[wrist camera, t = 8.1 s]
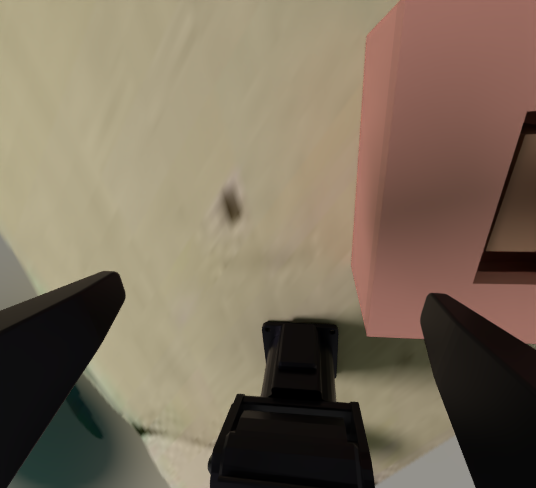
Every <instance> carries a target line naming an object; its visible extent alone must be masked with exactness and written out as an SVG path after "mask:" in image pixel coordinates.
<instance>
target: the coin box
mask: <svg viewBox="0 0 536 488" xmlns="http://www.w3.org/2000/svg"><path fill="white" fill-rule="evenodd" d="M523 123H529V124H536V0H400V1H399V2H398V3H397V4H396V5H395V6H394V7H393V8H392V9H391V11H390V12H389V13H388V14H387V15H386V16H385V17H384V18H383V19H382V20H381V21H380V22H379V23H378V24H377V25H376V26H375V27H374V28H373V29H372V31H371V32H370V33H369V34H368V35H367V37H366V52H365V66H364V81H363V96H362V111H361V126H360V141H359V156H358V171H357V186H356V200H355V215H354V230H353V245H352V260H351V267H352V272H353V276H354V281H355V285H356V289H357V294H358V298H359V303H360V307H361V312H362V316H363V320H364V325H365V329H366V334H367V336H368V337H391V338H413V339H424V337H423V333H422V329H421V324H420V316H421V313H422V309H423V306H424V303H425V300H426V297H427V295H428V294H429V293H444V294H447V295H449V296H451V297H452V298H454V299H455V300H457V301H459V302H460V303H462V304H463V305H465V306H467V307H468V308H470V309H471V310H473V311H475V312H476V313H478V314H479V315H481V316H483V317H484V318H486V319H487V320H489V321H491V322H492V323H494V324H495V325H497V326H498V327H500V328H502V329H503V330H505V331H506V332H508V333H510V334H511V335H513V336H514V337H516V338H518V339H519V340H521V341H522V342H524V343H527V344H536V251H535V252H512V251H485V250H484V246H485V243H486V240H487V237H488V234H489V230H490V227H491V224H492V221H493V218H494V215H495V211H496V208H497V205H498V202H499V199H500V196H501V192H502V189H503V186H504V183H505V180H506V176H507V173H508V170H509V167H510V164H511V161H512V157H513V154H514V151H515V148H516V145H517V142H518V138H519V135H520V132H521V129H522V126H523Z"/></svg>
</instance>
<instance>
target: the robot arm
mask: <svg viewBox="0 0 536 488" xmlns="http://www.w3.org/2000/svg"><path fill="white" fill-rule="evenodd" d="M125 296H126V295H125V290H124V287H123V284H122V281H121V278H120V275H119V274H118V273H117V272H114V271H102V272H99V273H97V274H94V275H92V276H89V277H86V278H84V279H81V280H79V281H76V282H73V283H71V284H68V285H66V286H63V287H61V288H58V289H55V290H53V291H50V292H48V293H45V294H42V295H40V296H37V297H35V298H32V299H29V300H27V301H24V302H22V303H19V304H17V305H14V306H11V307H9V308H6V309H3V310H1V311H0V488H7V487H8V485H9V484H10V482H11V481H12V479H13V478H14V476H15V475H16V473H17V471H18V470H19V469H20V467H21V466H22V464H23V463H24V461H25V460H26V458H27V456H28V455H29V454H30V452H31V451H32V449H33V447H34V446H35V444H36V443H37V441H38V440H39V438H40V437H41V435H42V434H43V432H44V431H45V429H46V428H47V426H48V425H49V423H50V422H51V420H52V418H53V417H54V416H55V414H56V413H57V411H58V409H59V408H60V406H61V405H62V403H63V402H64V400H65V399H66V397H67V396H68V394H69V393H70V391H71V390H72V388H73V387H74V385H75V384H76V382H77V381H78V379H79V378H80V376H81V375H82V373H83V371H84V370H85V368H86V367H87V365H88V364H89V362H90V361H91V359H92V358H93V356H94V355H95V353H96V352H97V350H98V349H99V347H100V345H101V344H102V342H103V340H104V338H105V337H106V335H107V333H108V331H109V329H110V327H111V325H112V323H113V322H114V320H115V318H116V316H117V314H118V312H119V310H120V308H121V306H122V305H123V303H124V301H125ZM420 324H421V329H422V333H423V337H424V340H425V344H426V348H427V352H428V356H429V360H430V364H431V368H432V372H433V375H434V378H435V381H436V384H437V387H438V390H439V392H440V395H441V398H442V400H443V403H444V406H445V408H446V411H447V413H448V416H449V419H450V421H451V424H452V427H453V429H454V432H455V435H456V437H457V440H458V442H459V445H460V448H461V450H462V453H463V455H464V458H465V461H466V464H467V466H468V469H469V471H470V474H471V477H472V479H473V482H474V485H475V487H476V488H536V350H535V349H534V348H532V347H530V346H529V345H527V344H526V343H524V342H522V341H521V340H519V339H518V338H516V337H514V336H513V335H511V334H510V333H508V332H506V331H505V330H503V329H502V328H500V327H498V326H497V325H495V324H494V323H492V322H491V321H489V320H487V319H486V318H484V317H483V316H481V315H479V314H478V313H476V312H475V311H473V310H471V309H470V308H468V307H467V306H465V305H463V304H462V303H460V302H459V301H457V300H455V299H454V298H452V297H451V296H449V295H447V294H444V293H429V294H428V295H427V297H426V300H425V303H424V306H423V309H422V313H421V316H420ZM267 327H268V328H267ZM331 330H334V331H331ZM262 334H263V342H264V350H265V359H266V369H265V375H264V381H263V386H262V392H261V397H258V396H245V394H237V395H236V398H235V400H234V403H233V404H232V405H231V407H230V410H229V412H228V415H227V417H226V420H225V422H224V424H223V427H222V429H221V432H220V434H219V437H218V439H217V442H216V444H215V446H214V449H213V453H212V455H211V457H210V458H209V461H208V471H209V473H210V475H211V477H210V488H375V484H374V476H373V468H372V462H371V457H370V452H369V447H368V443H367V438H366V434H365V429H364V425H363V420H362V416H361V411H360V407H359V403H358V402H350V403H343V402H336V392H335V378H336V373H337V352H338V327H337V326H336V325H332V324H306V323H280V322H265V323H264V324H263V326H262Z"/></svg>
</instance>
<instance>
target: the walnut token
mask: <svg viewBox="0 0 536 488" xmlns="http://www.w3.org/2000/svg"><path fill="white" fill-rule="evenodd" d="M484 250H485V251H512V252H535V251H536V124H529V123H523V126H522V129H521V132H520V135H519V138H518V142H517V145H516V148H515V151H514V154H513V157H512V161H511V164H510V167H509V170H508V173H507V176H506V180H505V183H504V186H503V189H502V192H501V196H500V199H499V202H498V205H497V208H496V211H495V215H494V218H493V221H492V224H491V227H490V230H489V234H488V237H487V240H486V243H485V246H484Z"/></svg>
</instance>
